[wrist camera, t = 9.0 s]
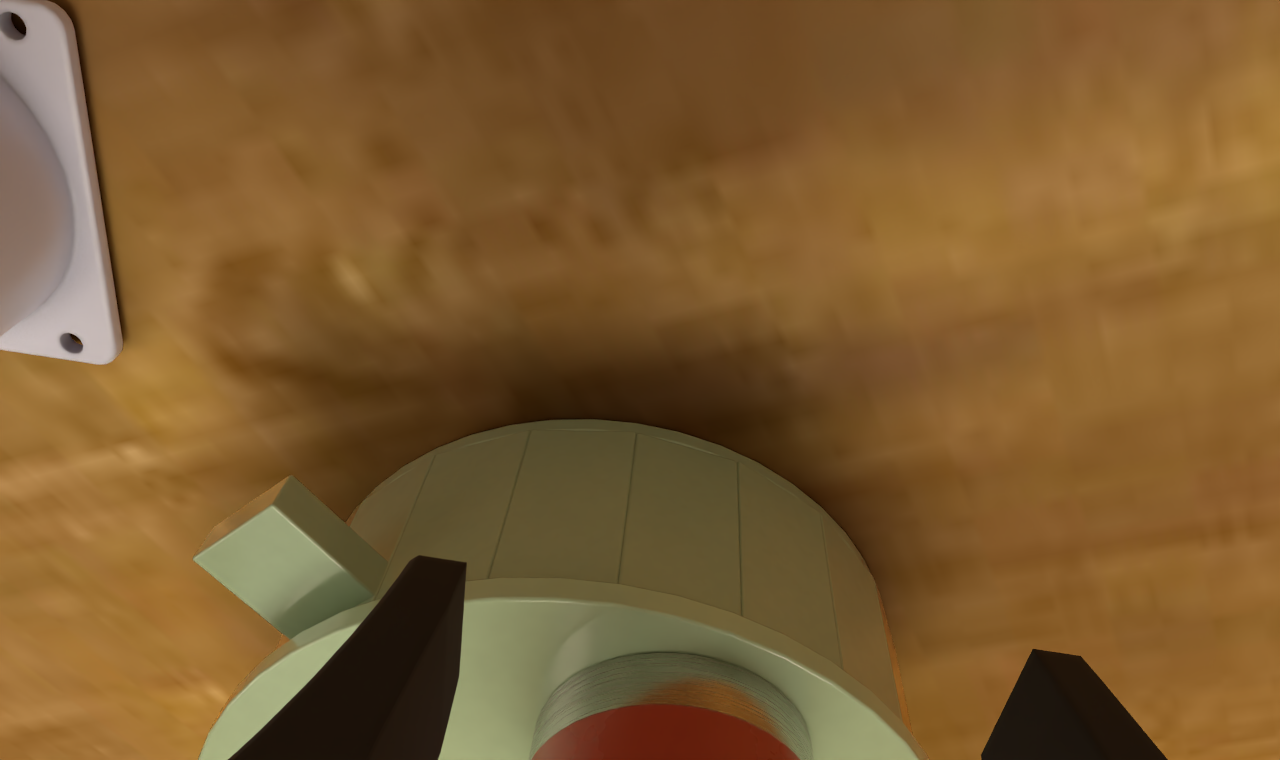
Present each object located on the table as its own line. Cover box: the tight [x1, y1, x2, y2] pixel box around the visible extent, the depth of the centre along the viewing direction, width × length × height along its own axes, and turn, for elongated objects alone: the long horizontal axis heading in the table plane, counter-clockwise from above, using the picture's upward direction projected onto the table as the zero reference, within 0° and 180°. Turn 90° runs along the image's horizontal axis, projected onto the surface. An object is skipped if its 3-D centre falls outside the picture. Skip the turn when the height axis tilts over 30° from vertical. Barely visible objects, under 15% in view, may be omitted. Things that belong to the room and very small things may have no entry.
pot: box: [193, 419, 913, 735], centre depth 25 cm, size 16×21×6 cm
